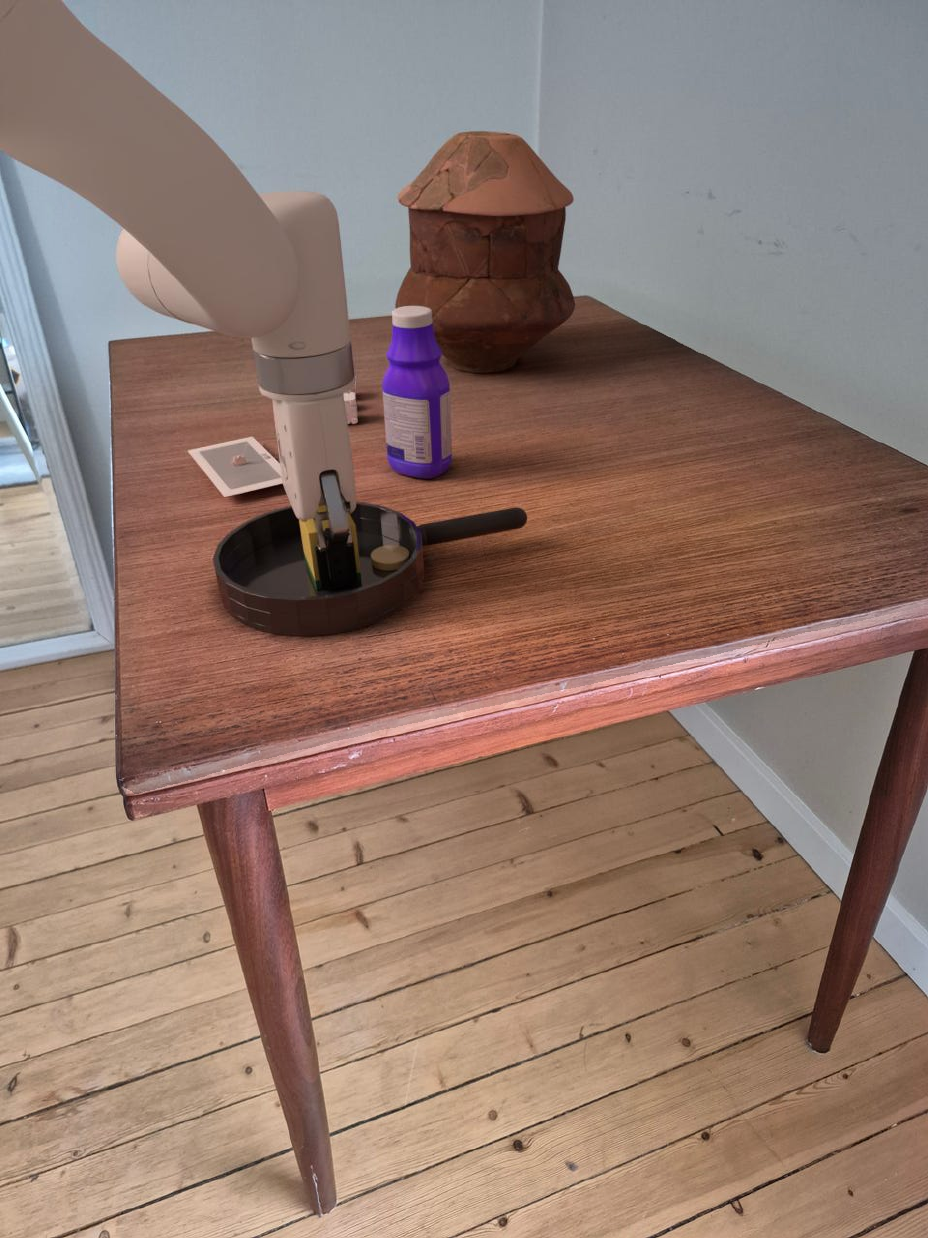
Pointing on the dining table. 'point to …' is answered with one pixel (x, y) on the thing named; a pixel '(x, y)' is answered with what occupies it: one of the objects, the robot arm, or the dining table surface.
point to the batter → (389, 557)
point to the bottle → (416, 397)
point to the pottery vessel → (487, 249)
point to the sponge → (311, 542)
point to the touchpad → (238, 466)
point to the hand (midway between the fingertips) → (331, 567)
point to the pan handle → (472, 526)
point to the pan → (282, 585)
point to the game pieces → (351, 404)
